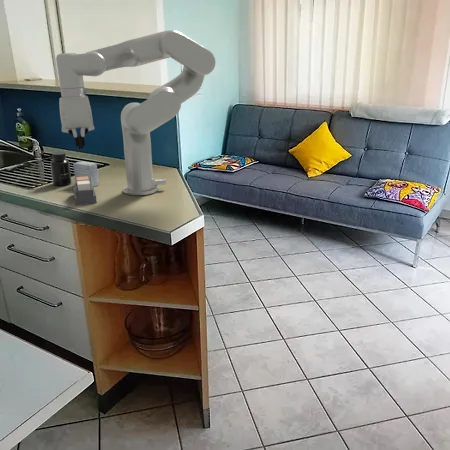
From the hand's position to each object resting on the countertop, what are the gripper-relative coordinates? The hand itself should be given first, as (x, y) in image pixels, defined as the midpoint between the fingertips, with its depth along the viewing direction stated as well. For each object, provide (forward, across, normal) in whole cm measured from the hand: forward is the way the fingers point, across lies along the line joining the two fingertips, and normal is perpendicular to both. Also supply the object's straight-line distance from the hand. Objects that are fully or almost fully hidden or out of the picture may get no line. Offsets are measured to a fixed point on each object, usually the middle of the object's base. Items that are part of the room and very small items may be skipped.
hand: (80, 148), depth 162 cm
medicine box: (+18, -1, -14) cm, 23 cm away
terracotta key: (+14, +1, 0) cm, 14 cm away
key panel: (+17, +1, +3) cm, 18 cm away
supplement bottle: (+17, +8, -19) cm, 27 cm away
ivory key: (+14, +1, +6) cm, 15 cm away
